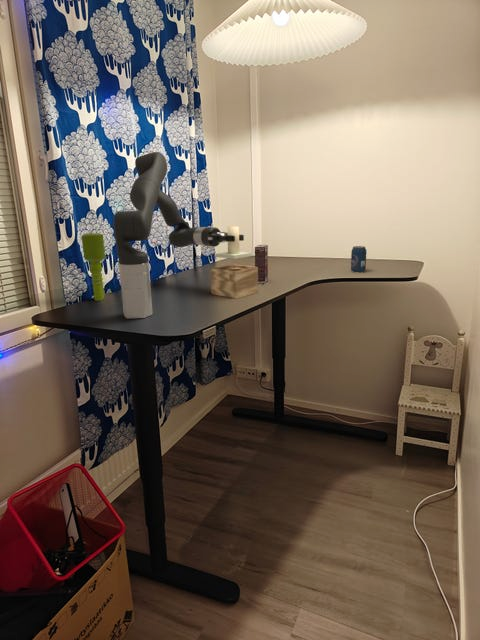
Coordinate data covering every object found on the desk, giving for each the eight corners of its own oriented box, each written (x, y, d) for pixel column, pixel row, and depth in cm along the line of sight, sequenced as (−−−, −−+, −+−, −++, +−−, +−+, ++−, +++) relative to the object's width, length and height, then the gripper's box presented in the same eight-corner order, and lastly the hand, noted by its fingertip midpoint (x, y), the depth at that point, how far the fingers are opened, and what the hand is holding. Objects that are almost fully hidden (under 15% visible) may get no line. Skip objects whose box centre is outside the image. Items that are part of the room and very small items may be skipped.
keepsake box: (258, 292, 177) (257, 267, 174) (235, 298, 168) (235, 271, 165) (233, 288, 185) (233, 264, 183) (211, 293, 176) (210, 268, 173)
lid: (252, 256, 173) (251, 226, 170) (234, 258, 166) (233, 227, 163) (233, 254, 179) (232, 225, 176) (215, 256, 172) (214, 227, 169)
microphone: (103, 301, 167) (95, 234, 161) (85, 301, 169) (76, 234, 162) (113, 297, 175) (107, 232, 168) (96, 296, 177) (89, 232, 170)
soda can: (347, 271, 219) (348, 246, 215) (359, 270, 221) (360, 245, 218) (356, 273, 212) (357, 248, 209) (368, 272, 215) (369, 247, 212)
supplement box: (265, 283, 193) (265, 246, 189) (254, 283, 194) (253, 246, 190) (268, 280, 201) (268, 244, 197) (257, 280, 202) (257, 244, 198)
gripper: (193, 228, 174) (225, 229, 163) (219, 226, 184) (251, 227, 173) (194, 247, 176) (226, 249, 165) (219, 244, 186) (251, 246, 175)
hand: (238, 238), depth 169 cm, fingers closed on lid, 4 cm apart
